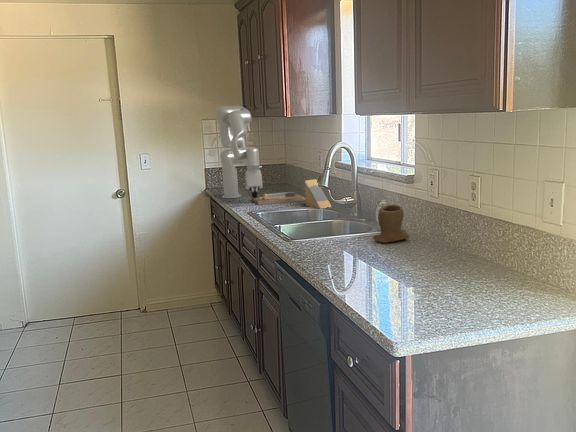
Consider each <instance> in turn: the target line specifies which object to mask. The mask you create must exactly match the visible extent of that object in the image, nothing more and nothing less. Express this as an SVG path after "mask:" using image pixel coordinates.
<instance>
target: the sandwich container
mask: <svg viewBox="0 0 576 432" xmlns="http://www.w3.org/2000/svg"><path fill="white" fill-rule="evenodd" d="M317 181H318V180H317V179H315V178H314V179H308V180H304V191H305V192H304V193H305V206H306V207H309V206H310V207H309V208H314V207H317V208H316V209H319V208H320V209H327V207H329V208H332V207H331V206H332V205H331V203H330V201H329V199H328V197H327V196H326V195H325V193H324V190H323V189H322V187H321V186H320V187H319V186H318V183H319V182H318V183H317Z"/></svg>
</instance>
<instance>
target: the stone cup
mask: <svg viewBox="0 0 576 432" xmlns="http://www.w3.org/2000/svg"><path fill="white" fill-rule="evenodd" d="M377 213H378V214H377V220H378V225H379V228H380V233H379V234H375V235H374V236H373V238H372V239H373V240H374V241H375V242H379V243H392V242H398V241H402V240H407V239H410V235H409V234H408V233H407V232H406V230H405V229H402V225H403V220H404V217H405V216H404V214H405V213H404V209H403V207H402V206H400V205H399V204H387V205H384V206H381V207H380V208H379V209H378V212H377Z"/></svg>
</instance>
